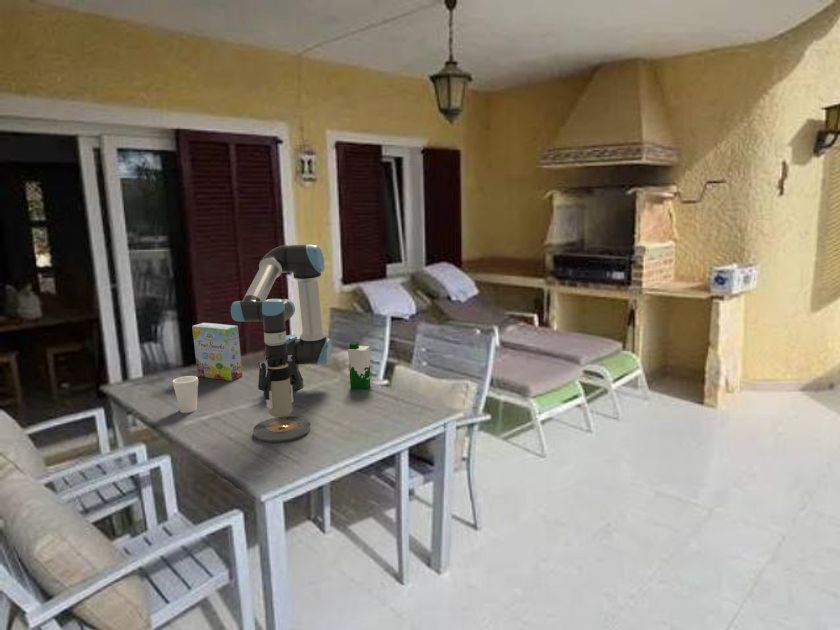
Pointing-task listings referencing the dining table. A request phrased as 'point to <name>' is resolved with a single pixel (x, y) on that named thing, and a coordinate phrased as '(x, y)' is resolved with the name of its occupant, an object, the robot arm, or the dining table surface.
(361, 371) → the soya milk
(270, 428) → the grey flat disc
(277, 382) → the travel mug
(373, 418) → the dining table surface
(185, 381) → the foam cup
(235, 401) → the dining table surface
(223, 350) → the snack box
